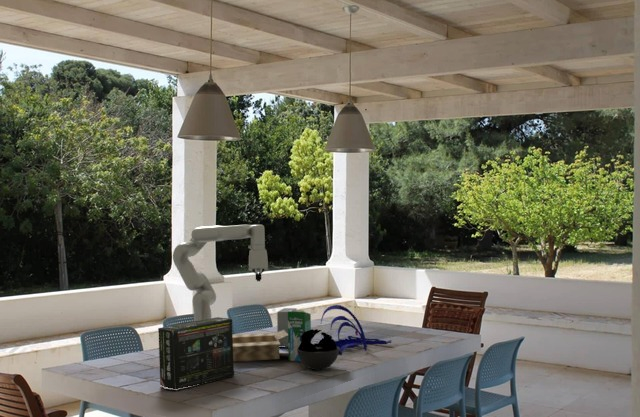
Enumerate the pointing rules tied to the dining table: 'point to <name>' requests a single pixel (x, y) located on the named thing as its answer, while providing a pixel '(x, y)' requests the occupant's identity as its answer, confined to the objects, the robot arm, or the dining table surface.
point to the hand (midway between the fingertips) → (258, 281)
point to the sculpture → (357, 341)
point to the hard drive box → (284, 323)
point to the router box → (196, 352)
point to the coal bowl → (317, 350)
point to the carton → (255, 347)
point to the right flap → (281, 335)
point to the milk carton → (297, 331)
